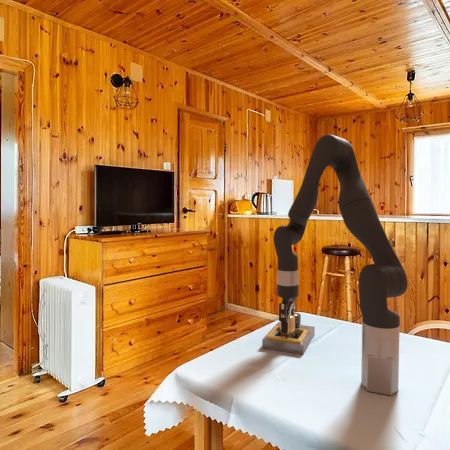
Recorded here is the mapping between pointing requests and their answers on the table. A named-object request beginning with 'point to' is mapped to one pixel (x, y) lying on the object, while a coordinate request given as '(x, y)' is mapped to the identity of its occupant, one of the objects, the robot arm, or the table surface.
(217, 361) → the table surface
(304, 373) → the table surface
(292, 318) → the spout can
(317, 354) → the table surface
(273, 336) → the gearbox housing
